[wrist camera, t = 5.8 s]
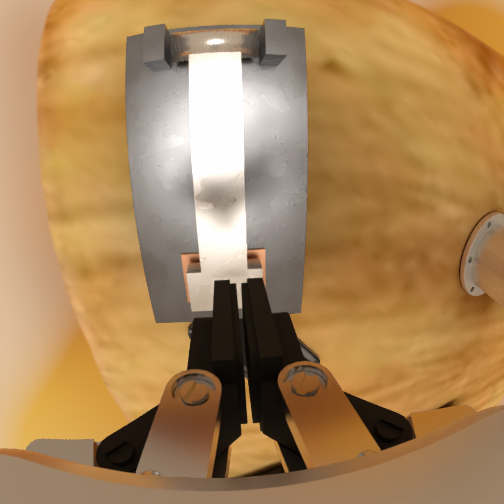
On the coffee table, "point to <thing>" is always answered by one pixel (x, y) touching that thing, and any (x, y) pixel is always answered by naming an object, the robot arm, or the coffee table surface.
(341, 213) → the coffee table surface
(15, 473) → the robot arm
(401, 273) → the coffee table surface
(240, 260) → the latch bar
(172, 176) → the base block
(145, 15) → the coffee table surface
